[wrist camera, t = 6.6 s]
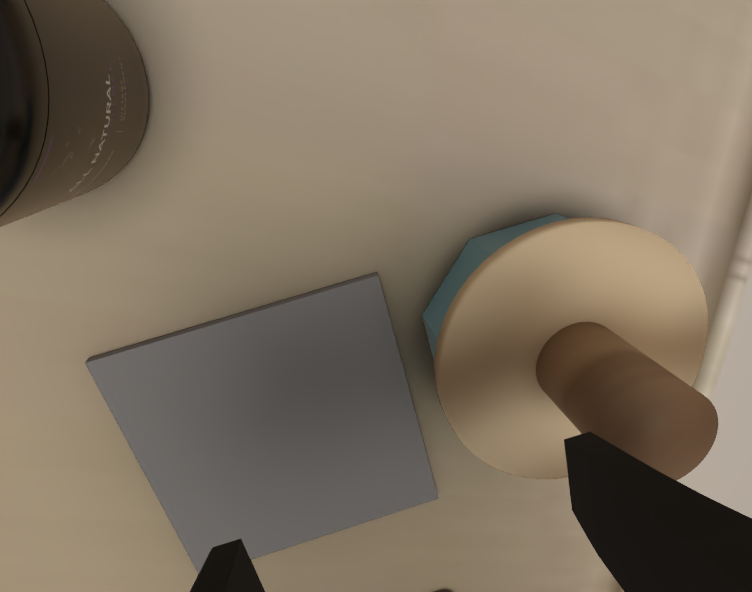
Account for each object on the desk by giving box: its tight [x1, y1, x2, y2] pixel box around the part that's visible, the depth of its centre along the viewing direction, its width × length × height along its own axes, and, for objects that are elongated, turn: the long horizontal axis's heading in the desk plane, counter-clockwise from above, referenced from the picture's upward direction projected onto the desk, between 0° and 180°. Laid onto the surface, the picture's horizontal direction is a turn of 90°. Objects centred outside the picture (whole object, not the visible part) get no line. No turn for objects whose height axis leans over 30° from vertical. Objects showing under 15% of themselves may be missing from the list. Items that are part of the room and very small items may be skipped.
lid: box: [434, 217, 718, 480], centre depth 16 cm, size 10×10×5 cm
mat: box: [85, 272, 438, 574], centre depth 21 cm, size 11×11×1 cm
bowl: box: [422, 213, 569, 361], centre depth 20 cm, size 8×8×3 cm
